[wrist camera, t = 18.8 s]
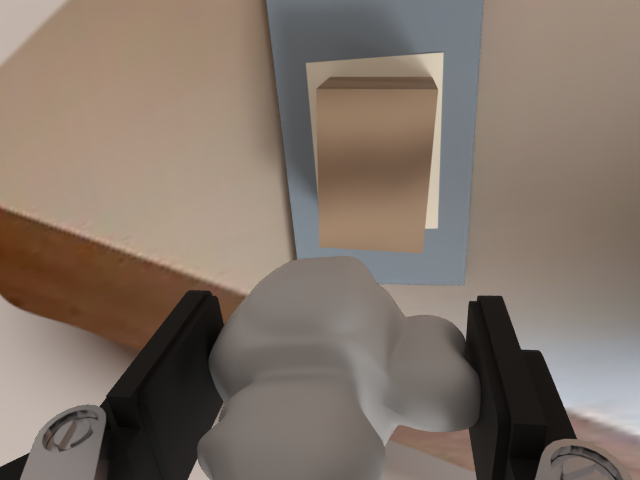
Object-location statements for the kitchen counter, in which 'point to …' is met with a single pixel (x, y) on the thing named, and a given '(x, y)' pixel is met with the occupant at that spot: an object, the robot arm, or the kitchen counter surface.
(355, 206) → the walnut block
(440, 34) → the board
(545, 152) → the kitchen counter surface
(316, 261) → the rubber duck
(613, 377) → the kitchen counter surface
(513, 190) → the kitchen counter surface
